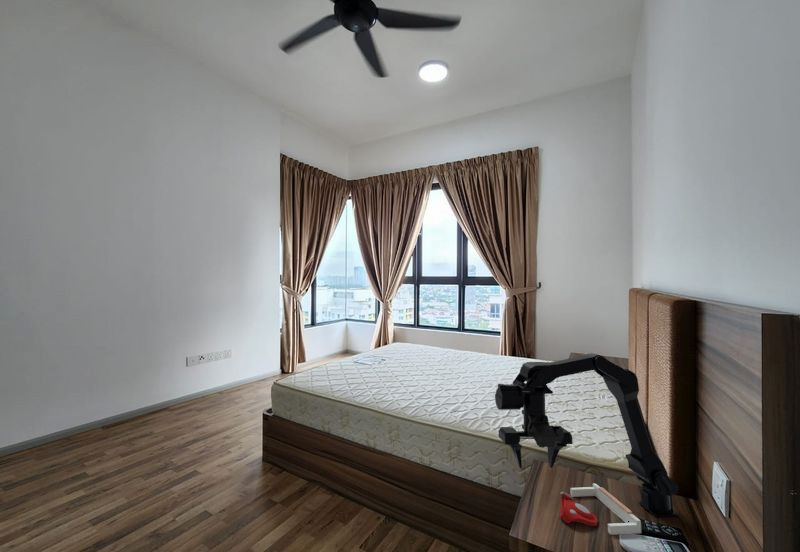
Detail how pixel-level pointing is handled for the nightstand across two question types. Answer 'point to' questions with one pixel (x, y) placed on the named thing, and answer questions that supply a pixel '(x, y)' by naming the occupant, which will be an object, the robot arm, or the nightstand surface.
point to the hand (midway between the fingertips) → (535, 467)
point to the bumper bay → (615, 506)
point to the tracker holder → (576, 511)
